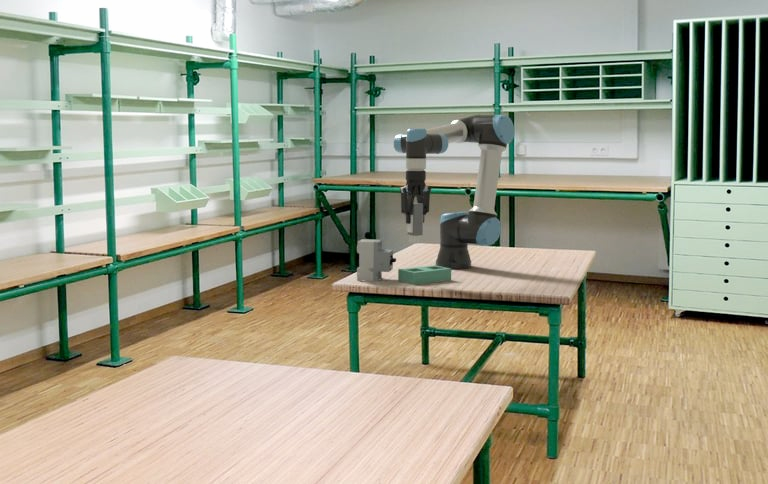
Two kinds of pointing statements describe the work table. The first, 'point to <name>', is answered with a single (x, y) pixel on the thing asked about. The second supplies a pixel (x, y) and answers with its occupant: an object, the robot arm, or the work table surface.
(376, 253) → the circuit breaker
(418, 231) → the plug
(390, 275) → the work table surface
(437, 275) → the box
